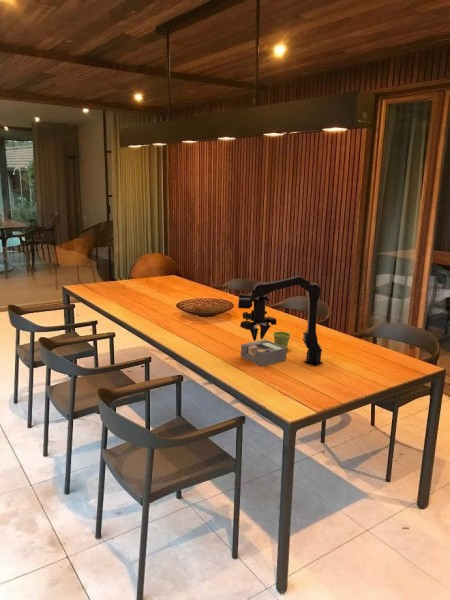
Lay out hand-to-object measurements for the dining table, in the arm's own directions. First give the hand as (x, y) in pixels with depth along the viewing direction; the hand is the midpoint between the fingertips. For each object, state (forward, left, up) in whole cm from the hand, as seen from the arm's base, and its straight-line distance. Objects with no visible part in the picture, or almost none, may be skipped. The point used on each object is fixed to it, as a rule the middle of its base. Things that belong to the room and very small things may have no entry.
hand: (258, 339), depth 234 cm
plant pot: (+6, -22, -11) cm, 25 cm away
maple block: (0, 0, -8) cm, 8 cm away
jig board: (+1, -5, -11) cm, 12 cm away
